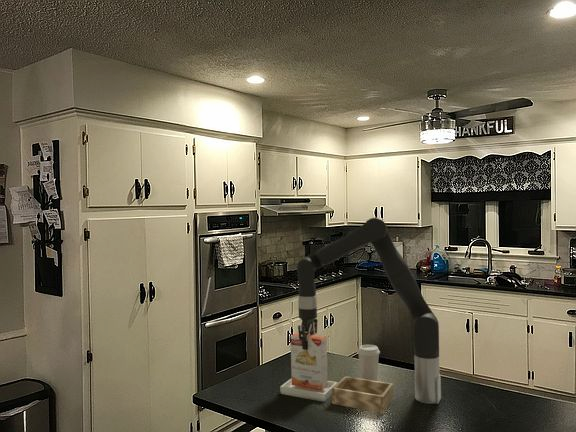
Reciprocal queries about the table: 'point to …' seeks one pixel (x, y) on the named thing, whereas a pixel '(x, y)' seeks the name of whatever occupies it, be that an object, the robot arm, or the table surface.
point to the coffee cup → (368, 361)
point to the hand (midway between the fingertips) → (308, 347)
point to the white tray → (307, 391)
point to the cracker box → (309, 362)
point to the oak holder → (363, 394)
